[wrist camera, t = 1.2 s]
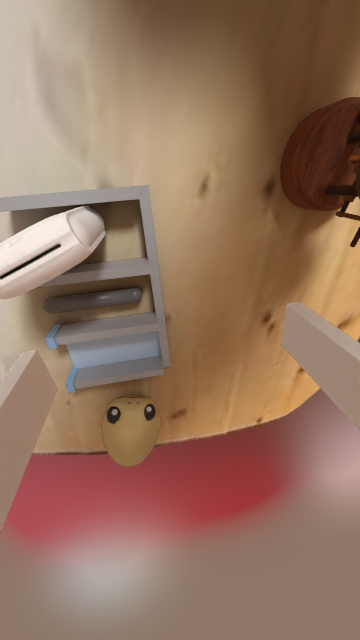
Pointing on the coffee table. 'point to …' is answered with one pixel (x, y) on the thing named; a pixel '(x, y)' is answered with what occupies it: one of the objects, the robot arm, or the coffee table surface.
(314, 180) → the music box
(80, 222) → the photo printer
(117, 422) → the tan frog figure
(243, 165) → the coffee table surface
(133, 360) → the grey shelf rack
